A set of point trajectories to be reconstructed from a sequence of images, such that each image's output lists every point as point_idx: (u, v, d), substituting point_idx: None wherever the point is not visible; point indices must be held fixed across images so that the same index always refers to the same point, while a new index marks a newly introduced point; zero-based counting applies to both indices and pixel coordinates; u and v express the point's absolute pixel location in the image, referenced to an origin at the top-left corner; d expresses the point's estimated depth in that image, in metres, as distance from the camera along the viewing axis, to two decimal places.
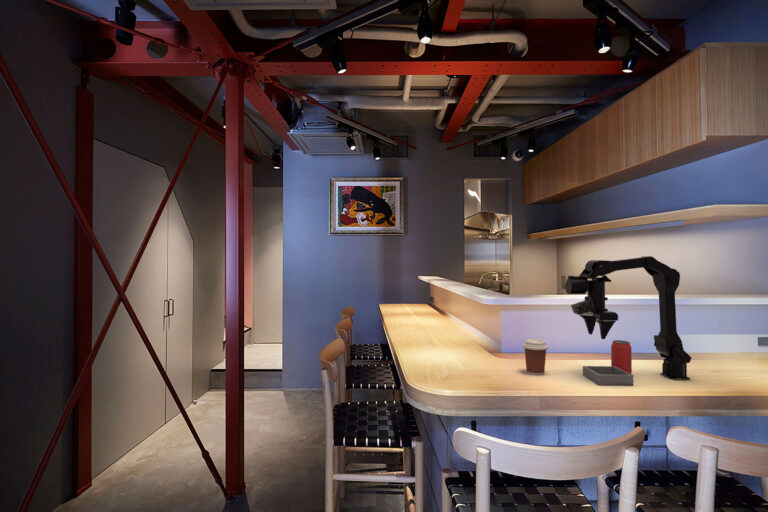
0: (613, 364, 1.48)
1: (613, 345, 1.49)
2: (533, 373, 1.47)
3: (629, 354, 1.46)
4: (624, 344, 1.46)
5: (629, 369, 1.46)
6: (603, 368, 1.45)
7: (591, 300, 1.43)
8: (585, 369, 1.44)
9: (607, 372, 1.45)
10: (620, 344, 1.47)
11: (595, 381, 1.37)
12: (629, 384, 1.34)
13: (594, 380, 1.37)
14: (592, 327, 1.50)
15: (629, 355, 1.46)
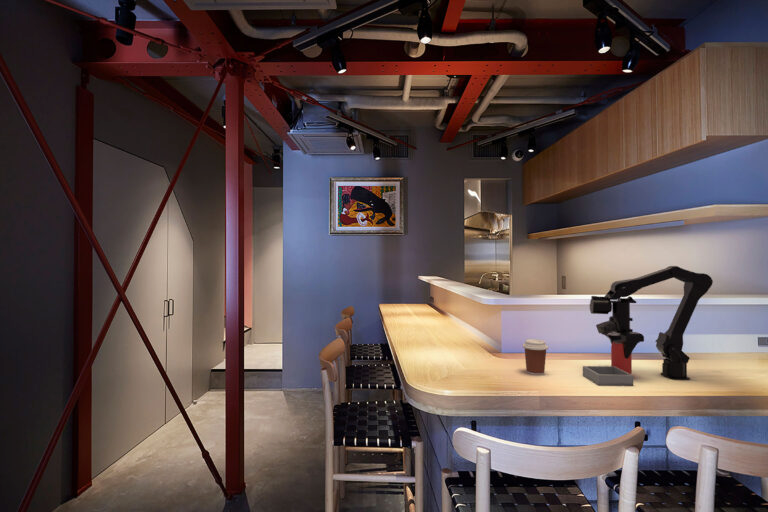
0: (613, 364, 1.48)
1: (613, 345, 1.49)
2: (533, 373, 1.47)
3: None
4: None
5: (629, 369, 1.46)
6: (603, 368, 1.45)
7: (616, 321, 1.47)
8: (585, 369, 1.44)
9: (607, 372, 1.45)
10: (620, 344, 1.47)
11: (595, 381, 1.37)
12: (629, 384, 1.34)
13: (594, 380, 1.37)
14: None
15: None
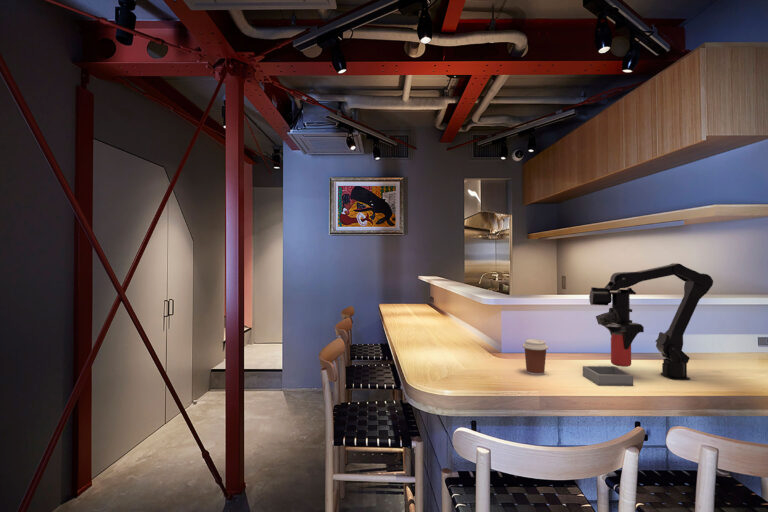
0: (613, 355, 1.48)
1: (613, 336, 1.49)
2: (533, 373, 1.47)
3: None
4: None
5: (629, 360, 1.46)
6: (603, 368, 1.45)
7: (616, 312, 1.47)
8: (585, 369, 1.44)
9: (607, 372, 1.45)
10: (620, 335, 1.47)
11: (595, 381, 1.37)
12: (629, 384, 1.34)
13: (594, 380, 1.37)
14: None
15: None
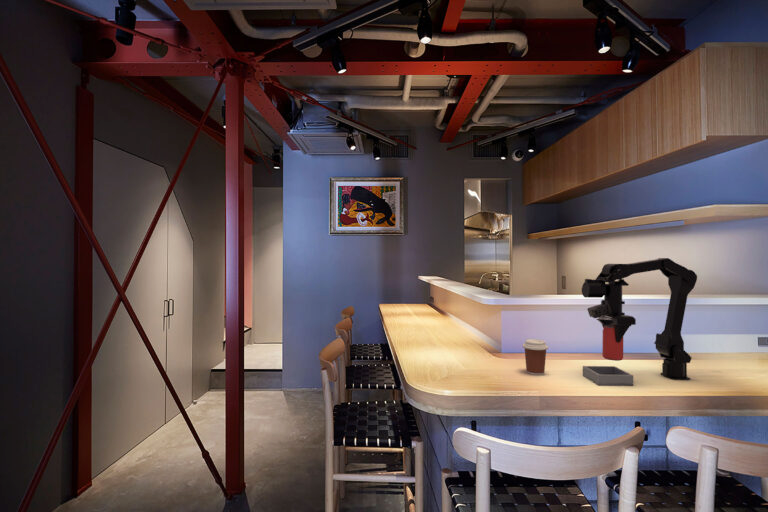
0: (604, 349, 1.44)
1: (604, 329, 1.44)
2: (533, 373, 1.47)
3: None
4: None
5: (620, 354, 1.41)
6: (603, 368, 1.45)
7: (608, 304, 1.42)
8: (585, 369, 1.44)
9: (607, 372, 1.45)
10: (612, 328, 1.42)
11: (595, 381, 1.37)
12: (629, 384, 1.34)
13: (594, 380, 1.37)
14: None
15: (621, 340, 1.42)
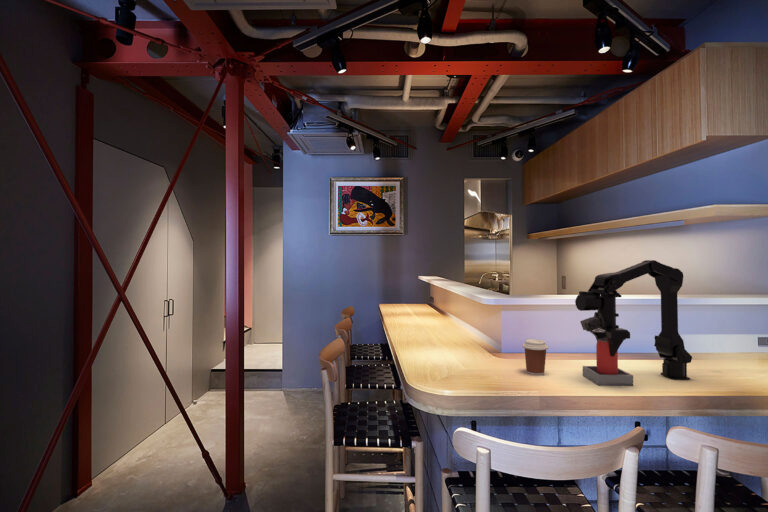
0: (598, 363, 1.40)
1: (598, 343, 1.40)
2: (533, 373, 1.47)
3: None
4: None
5: (615, 369, 1.37)
6: None
7: (601, 316, 1.38)
8: (585, 369, 1.44)
9: None
10: (605, 342, 1.38)
11: (595, 381, 1.37)
12: (629, 384, 1.34)
13: (594, 380, 1.37)
14: None
15: (615, 354, 1.37)
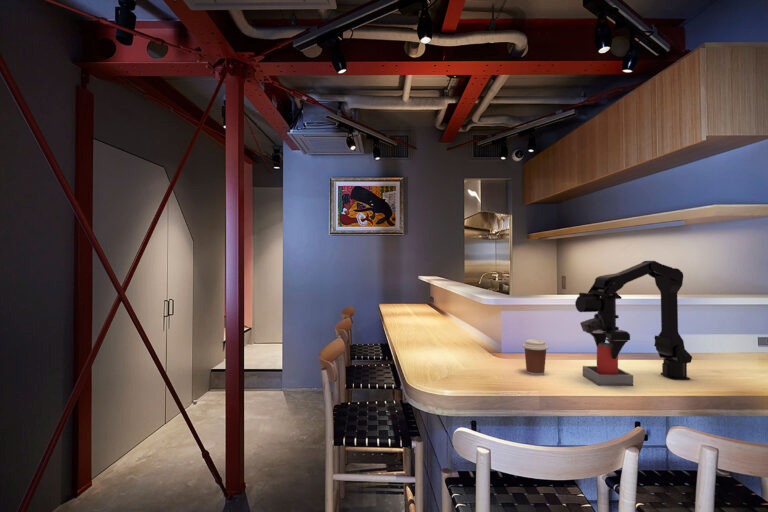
0: (598, 368, 1.40)
1: (599, 348, 1.40)
2: (533, 373, 1.47)
3: None
4: None
5: (615, 373, 1.37)
6: None
7: (601, 318, 1.38)
8: (585, 369, 1.44)
9: None
10: (606, 347, 1.38)
11: (595, 381, 1.37)
12: (629, 384, 1.34)
13: (594, 380, 1.37)
14: None
15: (615, 359, 1.37)
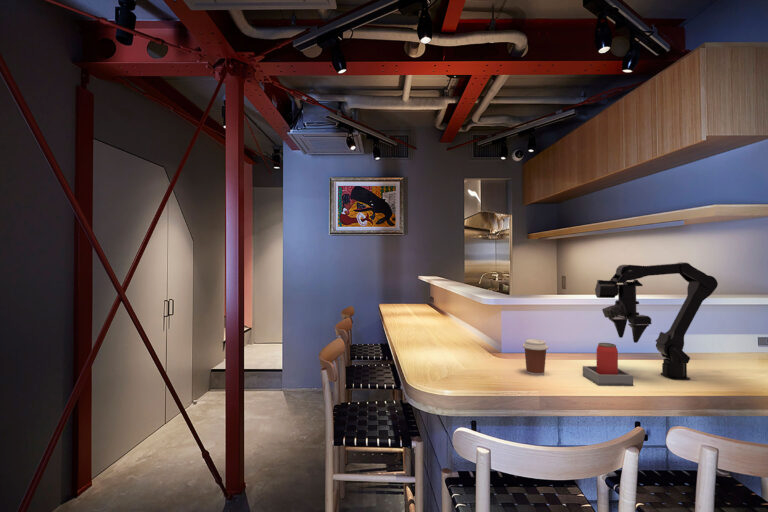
0: (598, 368, 1.40)
1: (598, 348, 1.40)
2: (533, 373, 1.47)
3: (615, 358, 1.37)
4: (610, 347, 1.37)
5: (615, 374, 1.37)
6: None
7: (623, 304, 1.45)
8: (585, 369, 1.44)
9: None
10: (606, 347, 1.38)
11: (595, 381, 1.37)
12: (629, 384, 1.34)
13: (594, 380, 1.37)
14: (622, 330, 1.52)
15: (615, 359, 1.37)
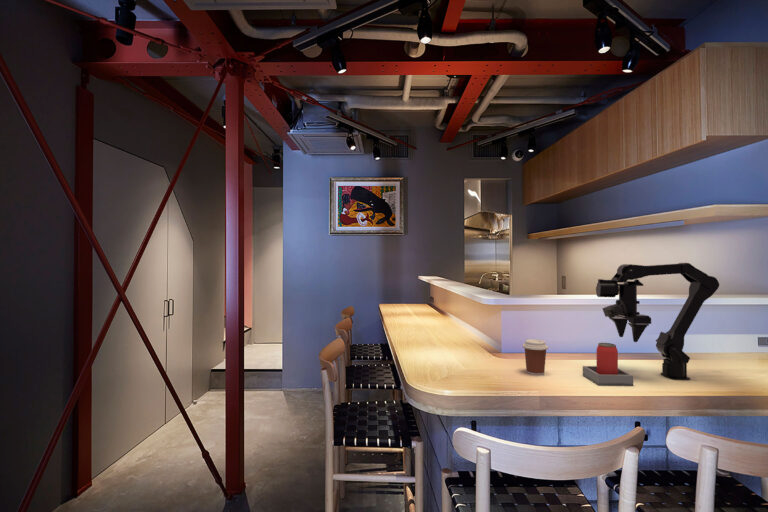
0: (598, 368, 1.40)
1: (598, 348, 1.40)
2: (533, 373, 1.47)
3: (615, 358, 1.37)
4: (610, 347, 1.38)
5: (615, 373, 1.37)
6: None
7: (623, 303, 1.46)
8: (585, 369, 1.44)
9: None
10: (606, 347, 1.38)
11: (595, 381, 1.37)
12: (629, 384, 1.34)
13: (594, 380, 1.37)
14: (623, 330, 1.52)
15: (615, 359, 1.37)
